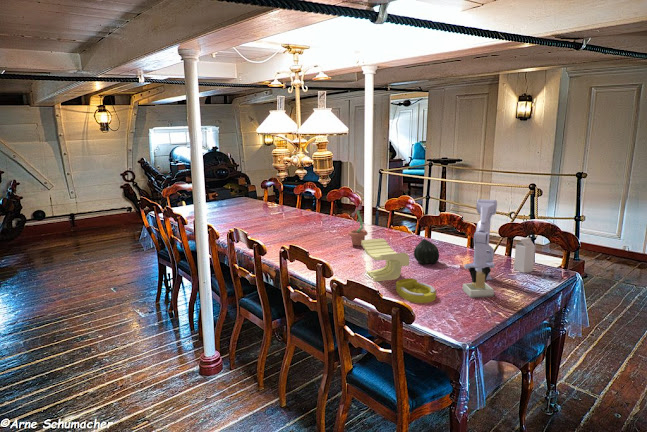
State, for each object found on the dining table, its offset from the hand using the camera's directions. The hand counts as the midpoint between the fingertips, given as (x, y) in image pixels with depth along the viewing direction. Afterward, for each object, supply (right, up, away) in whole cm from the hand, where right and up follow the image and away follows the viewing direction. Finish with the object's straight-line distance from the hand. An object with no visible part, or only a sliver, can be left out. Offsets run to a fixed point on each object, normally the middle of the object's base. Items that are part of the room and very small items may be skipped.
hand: (478, 281), depth 206 cm
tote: (0, -6, +1) cm, 6 cm away
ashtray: (-31, -7, +2) cm, 32 cm away
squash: (-14, +4, +50) cm, 52 cm away
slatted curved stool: (-43, -1, +28) cm, 51 cm away
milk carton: (+38, +1, +32) cm, 50 cm away
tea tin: (0, -2, +1) cm, 2 cm away
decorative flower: (-52, +12, +92) cm, 107 cm away
